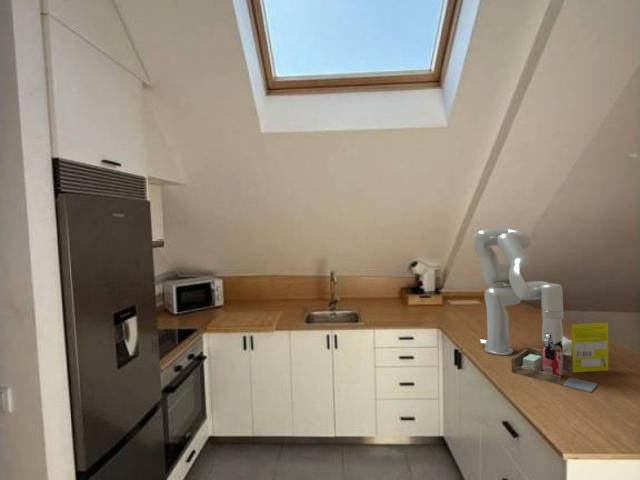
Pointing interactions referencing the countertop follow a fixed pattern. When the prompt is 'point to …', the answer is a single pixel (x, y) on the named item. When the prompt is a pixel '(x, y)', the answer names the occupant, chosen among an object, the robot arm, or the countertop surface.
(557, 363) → the soda can
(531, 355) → the offcut upper
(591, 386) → the slate mat
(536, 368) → the offcut lower
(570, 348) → the white decorative knot
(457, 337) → the countertop surface
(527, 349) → the frame
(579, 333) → the food package
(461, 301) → the countertop surface
